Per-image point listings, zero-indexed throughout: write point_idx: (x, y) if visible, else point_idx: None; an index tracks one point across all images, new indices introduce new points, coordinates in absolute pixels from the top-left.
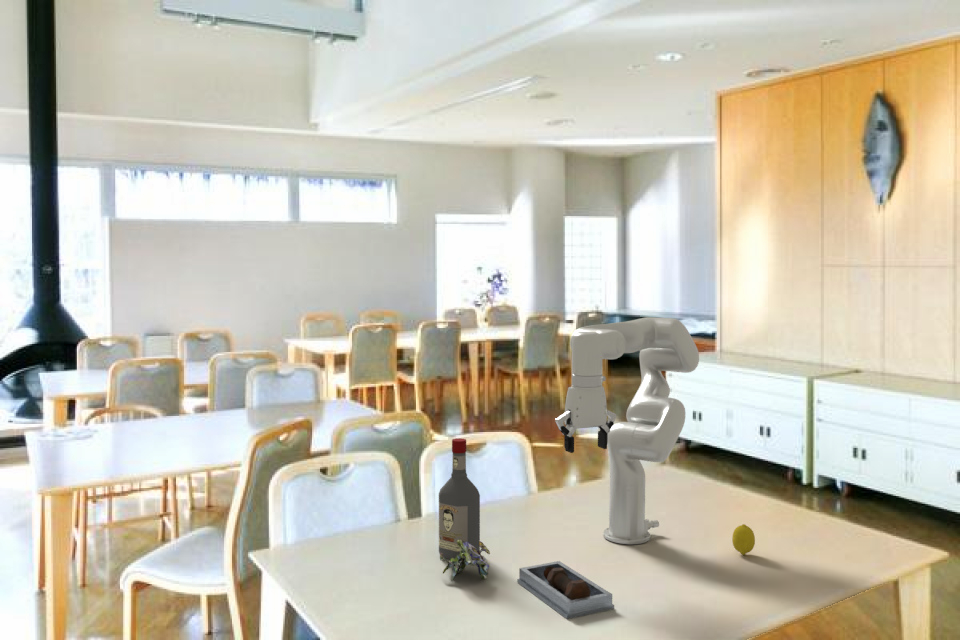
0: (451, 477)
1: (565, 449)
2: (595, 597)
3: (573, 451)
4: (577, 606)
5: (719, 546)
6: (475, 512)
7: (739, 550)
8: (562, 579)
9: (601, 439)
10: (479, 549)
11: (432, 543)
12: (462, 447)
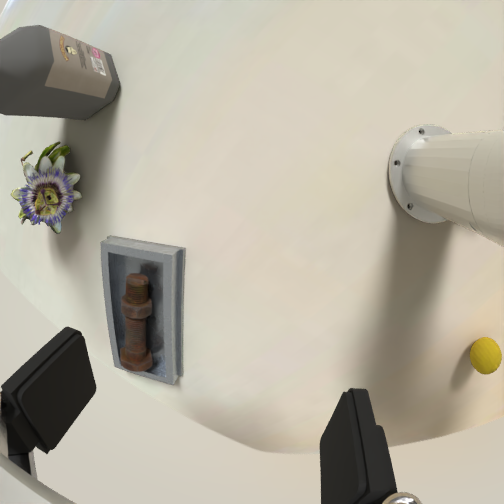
0: None
1: (67, 331)
2: (149, 377)
3: (90, 393)
4: None
5: (488, 303)
6: (48, 98)
7: (470, 351)
8: (126, 332)
9: (334, 468)
10: (108, 100)
11: (96, 24)
12: None
